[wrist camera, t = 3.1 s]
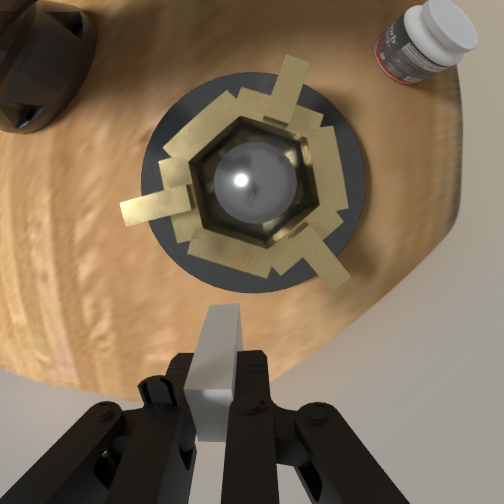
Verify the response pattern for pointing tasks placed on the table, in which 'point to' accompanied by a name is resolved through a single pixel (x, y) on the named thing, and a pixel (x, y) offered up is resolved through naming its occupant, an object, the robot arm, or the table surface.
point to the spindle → (255, 182)
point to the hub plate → (207, 167)
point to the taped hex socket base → (232, 242)
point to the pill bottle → (425, 41)
